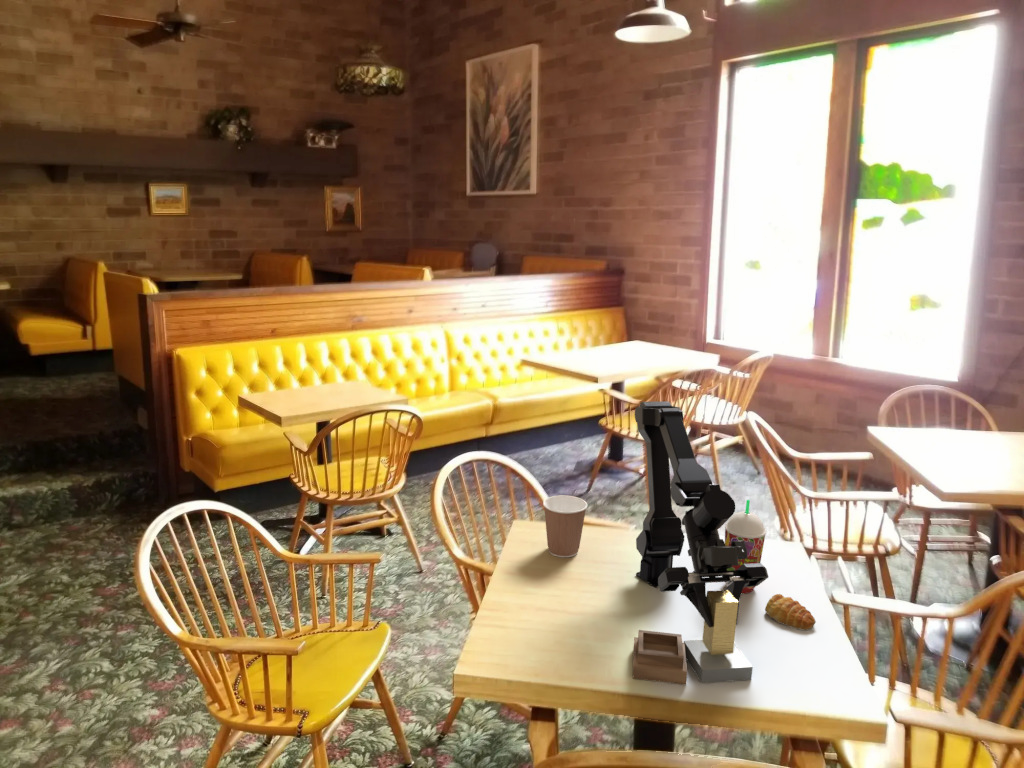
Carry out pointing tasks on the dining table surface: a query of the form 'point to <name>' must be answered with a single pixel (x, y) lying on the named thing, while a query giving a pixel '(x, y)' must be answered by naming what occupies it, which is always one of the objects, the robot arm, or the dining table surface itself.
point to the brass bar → (721, 622)
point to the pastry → (789, 612)
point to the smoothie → (746, 537)
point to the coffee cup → (564, 524)
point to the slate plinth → (717, 663)
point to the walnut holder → (659, 657)
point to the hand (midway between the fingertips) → (723, 626)
